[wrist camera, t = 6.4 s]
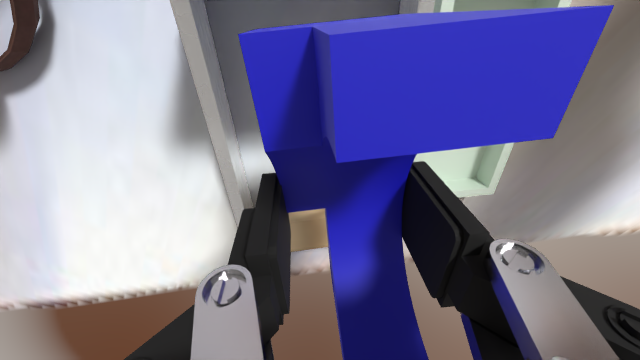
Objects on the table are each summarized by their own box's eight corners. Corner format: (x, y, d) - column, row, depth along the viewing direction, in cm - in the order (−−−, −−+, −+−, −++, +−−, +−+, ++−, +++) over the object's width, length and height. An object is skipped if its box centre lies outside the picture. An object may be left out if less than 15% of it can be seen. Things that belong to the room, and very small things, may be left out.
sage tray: (547, -23, 17) (583, -29, 15) (477, 180, 26) (493, 194, 24) (426, -18, 17) (446, -24, 15) (396, 187, 26) (406, 202, 24)
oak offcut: (360, 199, 23) (365, 212, 22) (360, 227, 25) (365, 241, 24) (275, 210, 23) (273, 225, 21) (281, 237, 25) (280, 253, 23)
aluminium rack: (418, -33, 16) (556, -92, 8) (387, 212, 27) (430, 297, 19) (181, -23, 15) (48, -78, 7) (248, 226, 26) (228, 322, 18)
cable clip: (257, 28, 8) (181, 50, 3) (404, 13, 8) (612, 5, 3) (304, 276, 14) (309, 419, 9) (383, 266, 14) (431, 402, 9)
